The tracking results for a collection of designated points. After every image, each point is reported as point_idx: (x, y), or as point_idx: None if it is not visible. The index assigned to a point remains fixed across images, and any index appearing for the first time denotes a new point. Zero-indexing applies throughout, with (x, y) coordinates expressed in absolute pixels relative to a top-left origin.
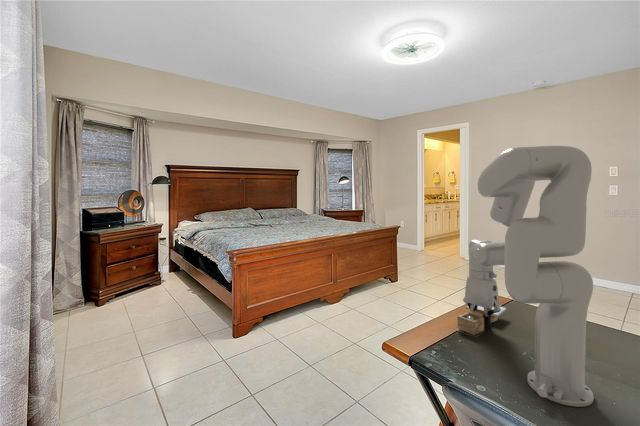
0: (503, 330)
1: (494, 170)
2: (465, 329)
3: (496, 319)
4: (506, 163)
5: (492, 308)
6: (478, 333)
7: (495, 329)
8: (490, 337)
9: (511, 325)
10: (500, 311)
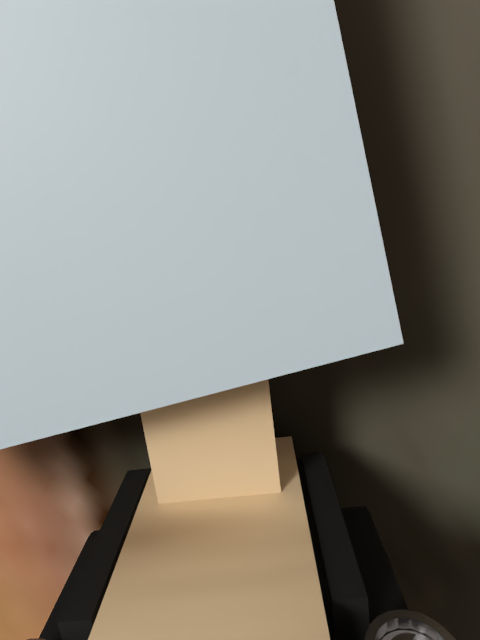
0: (473, 351)
1: None
2: None
3: None
4: None
5: (29, 22)
6: None
7: (392, 414)
8: (474, 627)
9: (459, 68)
10: (308, 32)
